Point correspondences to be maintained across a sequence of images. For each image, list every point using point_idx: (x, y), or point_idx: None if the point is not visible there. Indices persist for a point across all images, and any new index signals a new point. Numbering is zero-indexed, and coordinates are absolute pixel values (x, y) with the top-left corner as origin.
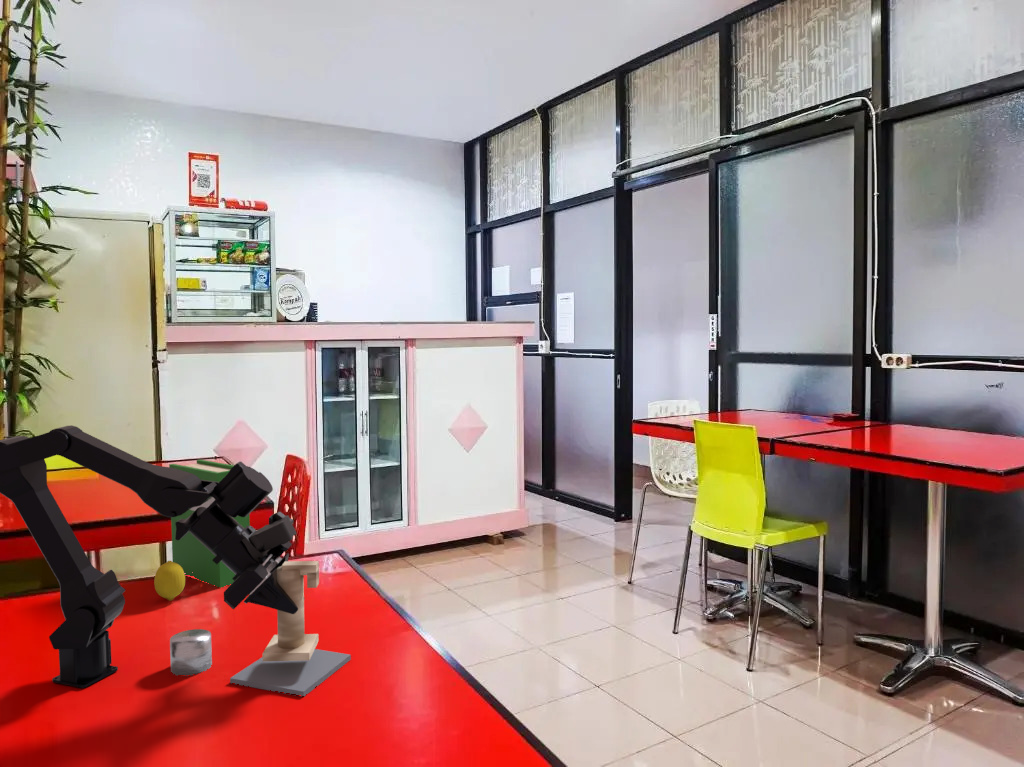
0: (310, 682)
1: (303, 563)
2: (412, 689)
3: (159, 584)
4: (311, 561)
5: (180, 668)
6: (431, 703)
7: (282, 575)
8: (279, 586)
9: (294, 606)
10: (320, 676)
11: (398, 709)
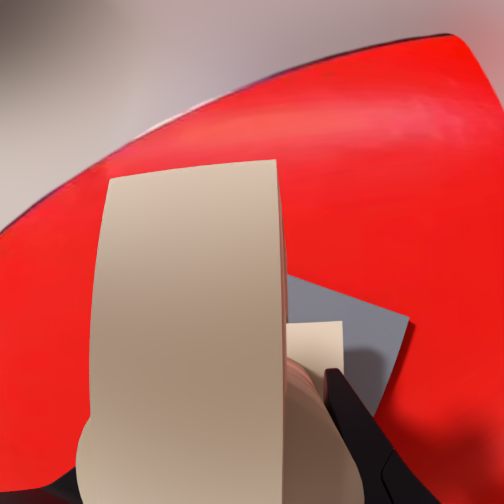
0: (368, 314)
1: (191, 367)
2: (356, 122)
3: None
4: (112, 263)
5: None
6: (395, 98)
7: None
8: (386, 501)
9: (347, 384)
10: (338, 298)
11: (423, 138)
